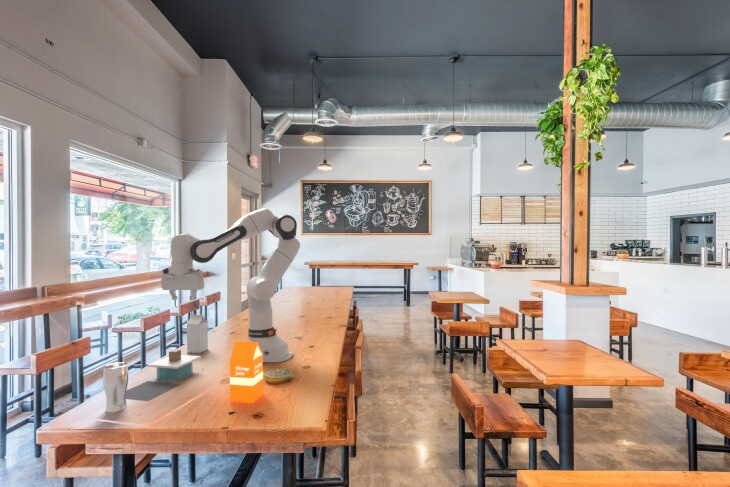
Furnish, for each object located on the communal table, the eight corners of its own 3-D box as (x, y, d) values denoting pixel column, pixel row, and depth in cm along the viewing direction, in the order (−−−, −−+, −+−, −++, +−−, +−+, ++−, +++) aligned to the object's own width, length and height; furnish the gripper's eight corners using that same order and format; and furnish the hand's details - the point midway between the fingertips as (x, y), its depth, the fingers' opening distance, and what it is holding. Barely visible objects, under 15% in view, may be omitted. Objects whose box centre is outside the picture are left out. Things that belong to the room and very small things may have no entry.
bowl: (198, 372, 158) (198, 358, 158) (176, 383, 146) (176, 368, 146) (173, 370, 161) (173, 356, 161) (149, 380, 149) (149, 366, 149)
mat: (181, 385, 143) (181, 383, 143) (148, 402, 128) (148, 401, 128) (147, 382, 147) (147, 380, 147) (111, 398, 132) (111, 397, 132)
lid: (200, 358, 159) (200, 347, 159) (176, 368, 145) (176, 356, 145) (173, 356, 162) (173, 345, 162) (147, 366, 148) (147, 354, 148)
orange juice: (253, 403, 126) (252, 345, 126) (229, 401, 128) (229, 344, 128) (263, 394, 134) (262, 339, 134) (241, 392, 135) (240, 338, 136)
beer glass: (111, 406, 126) (111, 362, 126) (132, 405, 126) (132, 361, 126) (98, 415, 119) (98, 369, 119) (121, 414, 119) (120, 368, 119)
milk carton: (199, 353, 186) (198, 316, 186) (187, 352, 188) (186, 315, 188) (208, 349, 193) (207, 313, 193) (196, 349, 195) (195, 313, 195)
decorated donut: (297, 379, 148) (297, 370, 148) (274, 387, 140) (274, 377, 140) (282, 373, 155) (282, 364, 155) (260, 381, 147) (260, 371, 147)
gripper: (206, 268, 167) (207, 298, 167) (168, 269, 172) (169, 298, 172) (197, 269, 161) (198, 301, 161) (158, 270, 165) (159, 300, 166)
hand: (183, 299), depth 166 cm, fingers open, 8 cm apart
